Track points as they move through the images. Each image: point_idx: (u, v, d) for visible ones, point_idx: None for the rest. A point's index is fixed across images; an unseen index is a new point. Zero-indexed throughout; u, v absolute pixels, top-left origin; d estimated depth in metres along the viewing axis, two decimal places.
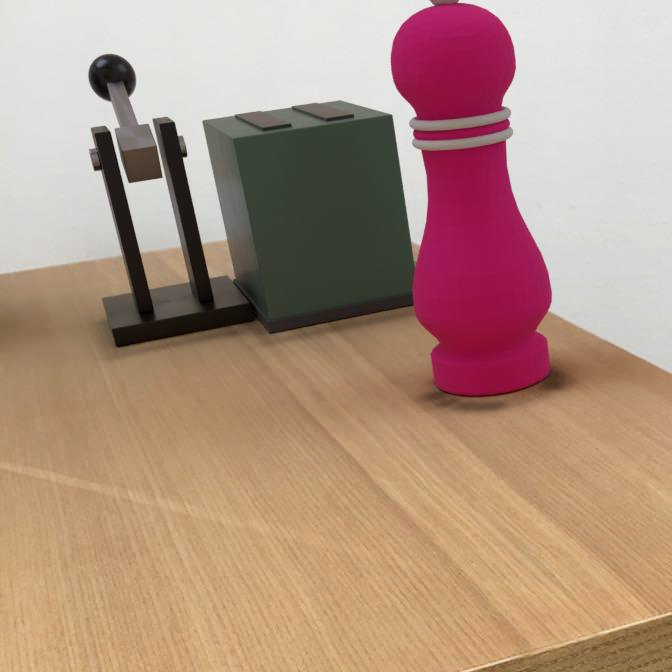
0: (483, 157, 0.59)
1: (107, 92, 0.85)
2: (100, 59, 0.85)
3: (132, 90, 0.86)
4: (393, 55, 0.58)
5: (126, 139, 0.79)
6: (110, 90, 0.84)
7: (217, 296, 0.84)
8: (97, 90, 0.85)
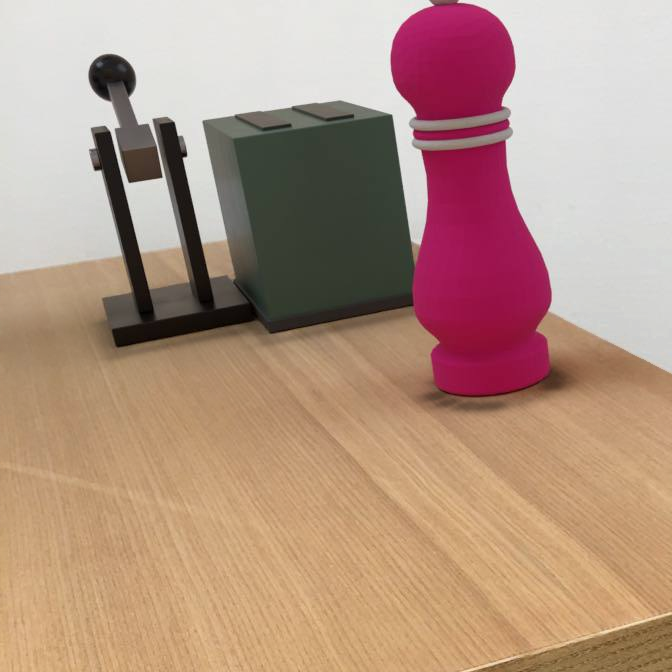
0: (483, 157, 0.59)
1: (107, 92, 0.85)
2: (100, 59, 0.85)
3: (132, 90, 0.86)
4: (393, 55, 0.58)
5: (126, 139, 0.79)
6: (110, 90, 0.84)
7: (217, 296, 0.84)
8: (97, 90, 0.85)
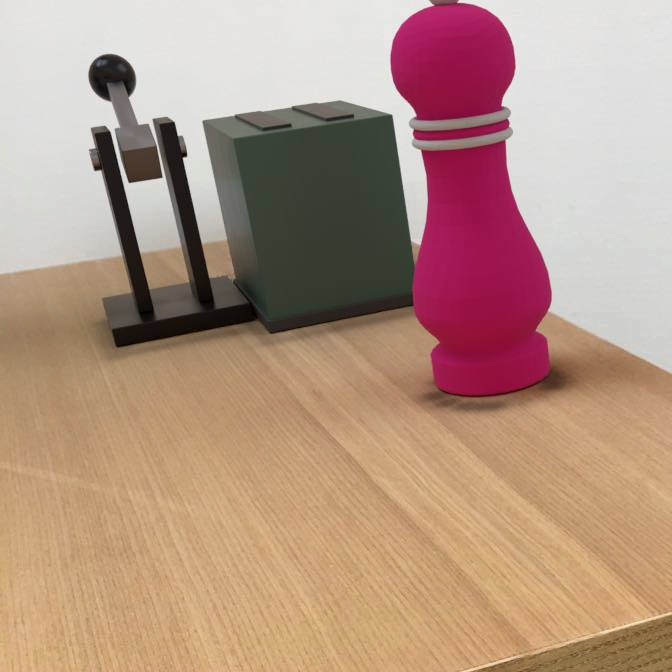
0: (483, 157, 0.59)
1: (107, 92, 0.85)
2: (100, 59, 0.85)
3: (132, 90, 0.86)
4: (393, 55, 0.58)
5: (126, 139, 0.79)
6: (110, 90, 0.84)
7: (217, 296, 0.84)
8: (97, 90, 0.85)
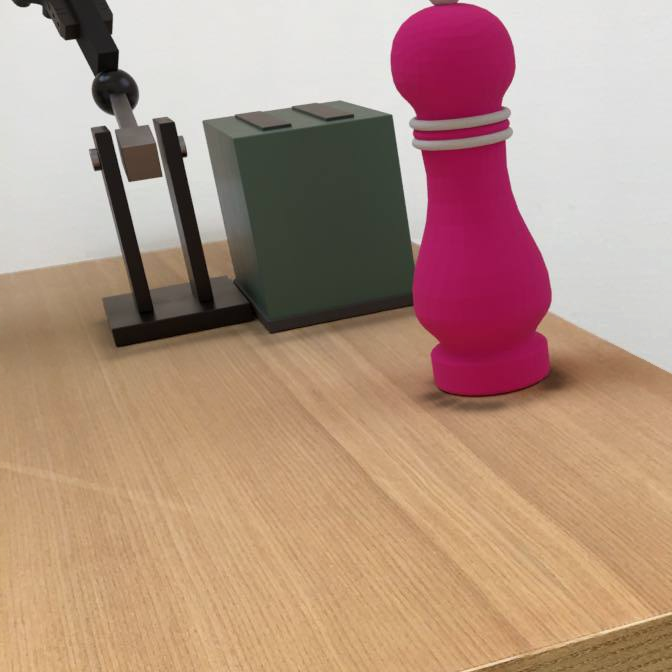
0: (483, 157, 0.59)
1: (110, 104, 0.86)
2: (103, 73, 0.86)
3: (135, 103, 0.87)
4: (393, 55, 0.58)
5: (126, 138, 0.79)
6: (112, 100, 0.85)
7: (217, 296, 0.84)
8: (100, 103, 0.86)
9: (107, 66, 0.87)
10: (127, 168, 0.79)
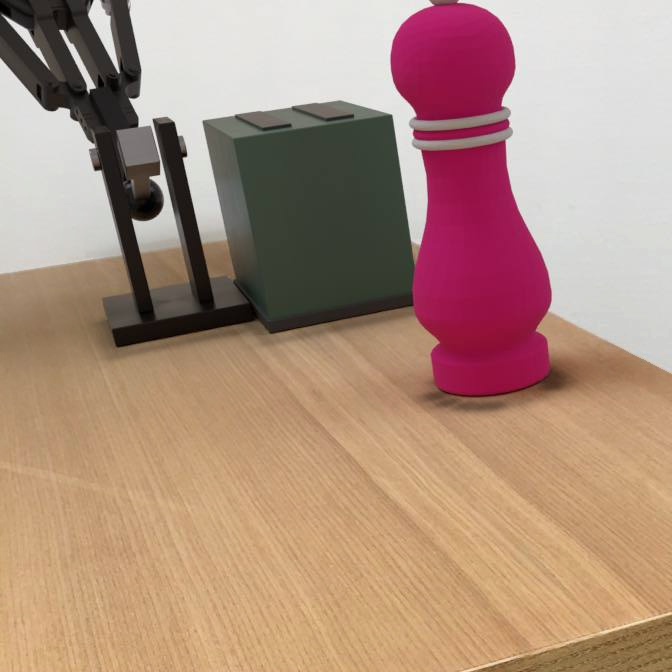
0: (483, 157, 0.59)
1: (132, 196, 0.88)
2: None
3: (158, 199, 0.89)
4: (393, 55, 0.58)
5: None
6: None
7: (217, 296, 0.84)
8: None
9: None
10: (123, 152, 0.79)
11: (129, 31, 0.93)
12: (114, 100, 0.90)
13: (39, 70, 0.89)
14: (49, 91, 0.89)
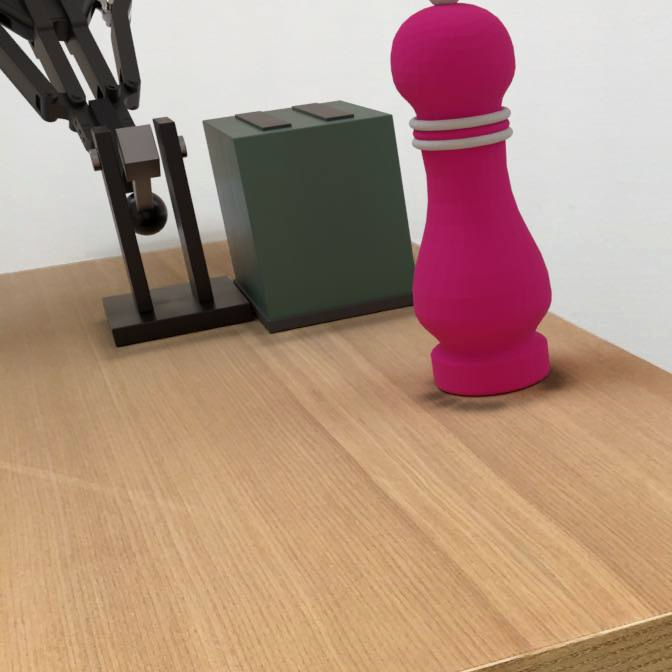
0: (483, 157, 0.59)
1: (136, 209, 0.88)
2: (132, 194, 0.90)
3: (161, 212, 0.89)
4: (393, 55, 0.58)
5: None
6: None
7: (217, 296, 0.84)
8: None
9: None
10: (123, 149, 0.79)
11: (129, 43, 0.93)
12: (113, 111, 0.90)
13: (38, 80, 0.89)
14: (48, 102, 0.89)
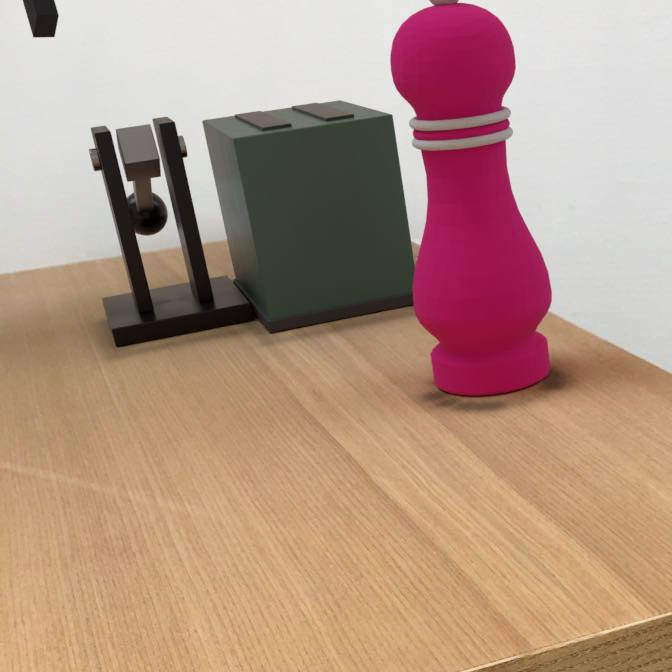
0: (483, 157, 0.59)
1: (136, 209, 0.88)
2: (132, 194, 0.90)
3: (161, 212, 0.89)
4: (393, 55, 0.58)
5: None
6: None
7: (217, 296, 0.84)
8: None
9: (45, 26, 0.88)
10: (123, 149, 0.79)
11: None
12: None
13: None
14: None
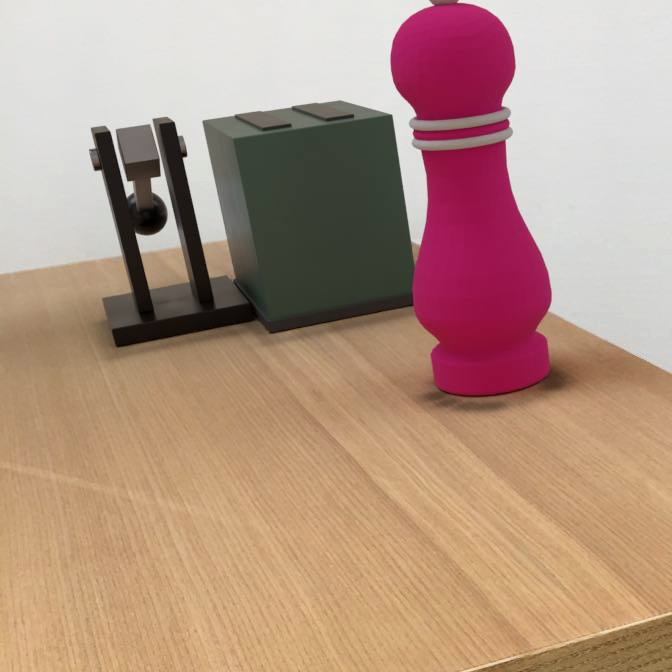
0: (483, 157, 0.59)
1: (136, 209, 0.88)
2: (132, 194, 0.90)
3: (161, 212, 0.89)
4: (393, 55, 0.58)
5: None
6: None
7: (217, 296, 0.84)
8: None
9: None
10: (123, 149, 0.79)
11: None
12: None
13: None
14: None
